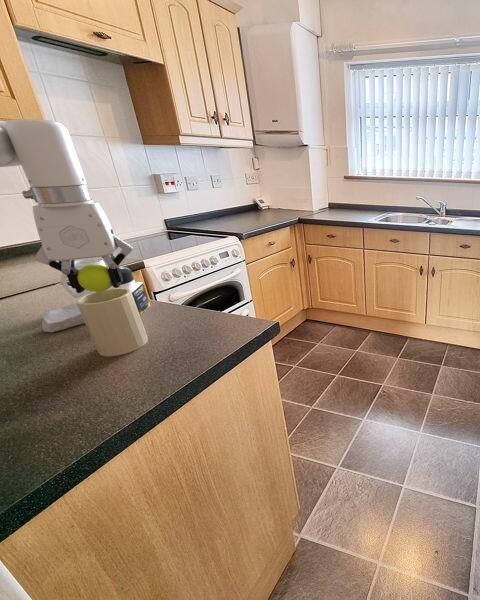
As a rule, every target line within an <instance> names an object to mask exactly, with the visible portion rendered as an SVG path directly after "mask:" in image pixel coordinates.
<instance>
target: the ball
mask: <svg viewBox="0 0 480 600" xmlns="http://www.w3.org/2000/svg"><path fill="white" fill-rule="evenodd" d="M108 269H109V267H108V266H107V265H105V266H103V265H100V264H91V265H87V266H85V267H83V268H82V269H81V270H80V271H79V272H78V275H77V279H78V282H79V284H80V285H81V286H82V287H83V288H84V289H86V290H89V291H93V292H101V291H105V290H107V289H109V288H110V287H111V286H112V285H113V284H112V282H111V279H110V276H109V274H108Z"/></svg>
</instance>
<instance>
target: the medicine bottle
mask: <svg viewBox="0 0 480 600" xmlns="http://www.w3.org/2000/svg"><path fill="white" fill-rule="evenodd" d="M119 269H120V272H121V274H122V277H123V282H121V285H120V286H119V288H127V289H130V290H131V293H132V295H133V298H134V301H135V304H136V306H137V309H138V312H139V315H141V316H142V315H143V314H144V313H145V312H146V310H148V308H149V307H150V306H151V302H150V299H149V297H148V294H147V291H146V288H145V285H144V282H143V281H137V282H136V281H135V278H134V276H133V273H132V269H130V268H128V267H120V266H119ZM111 288H114V287H113V285H112V286H111V287H110V288H109V289H111ZM143 312H144V313H143ZM142 313H143V314H142Z"/></svg>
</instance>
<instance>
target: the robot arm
mask: <svg viewBox="0 0 480 600" xmlns="http://www.w3.org/2000/svg"><path fill="white" fill-rule="evenodd" d="M78 157H79V156H78V154H77V151H76V148H75V145H74V143H73V141H72V138H71V135H70V133H69V130H68V129H67V127H66V126H65V125H64V124H63V123H61V122H58V121H55V120H51V119H50V120H49V119H39V118H38V119H36V118H17V119H16V118H15V119H11V120H10V119H9V120H2V119H0V168H7V167H17V166H21V168H22V170H23V173H24V174H25V177H26V179H27V182H28V185H29V187H28V188H29V189H28V190H22V192H21V193H22V196H23V198H24V199H25V200H30V199H31V200H34V202H35V203H36V205H33V206H32V215H33V219H34V223H35V227H36V230H37V234H38V237H39V240H40V243H41V246H40V248H39V249H38V251H37V253H36V255H35V256H34V260H35V261H36V262H38V263H42V264H44V265H47V266H49V267H51V268H52V269H55V270H57V271H59V272H61V273H63V274H66V275H67V280H68V282H69V283H70V284H69V285H70V288H71V289H75V291H76V292H77V293H82V292H83V291H84V290H85V289H84V288H83V287H82V286H81V285H80V284H79V282H78V279H77V275H78V272H79V270H76V268H75V262H76V260H84V259H91V258H102V259H103V261H104V263H105V264H106V265H108V266H107V268H109V269H108V274H109V276H110V279H111V282H112V284H113V287H114V288H119V286H120V285H121V282H123V277H122V274H121V272H120V269H119V268H120V266H119V265H120V264H121V263H122V262H123V260H125V259H126V257H127V256H128V255H130V253H131V252H132V251H134V247H133V245H131V244H129V243H128V242H126V241H125V240H123V239H122V238H120V237H119V236H117V235H116V233H115V231H114V228H113V226H112V225H111V223H110V221H109V218H108V217H107V214H106V213H105V211H104V209H103V208H102V206H101V204H100V202H99V201H97V200H95V201H94V199H93V196H92V193H91V190H90V187H89V185H88V182H87V179H86V177H85V174H84V171H83V169H82V165H81V163H80V160H79V158H78ZM119 248H120V249H121V251H120V252H118V254H117V255H115V254H114V253H115V251H116V250H118V249H119Z"/></svg>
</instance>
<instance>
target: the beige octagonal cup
mask: <svg viewBox="0 0 480 600" xmlns="http://www.w3.org/2000/svg"><path fill="white" fill-rule="evenodd" d="M75 303H77V306H78V308H79V310H80V313H81V315H82V317H83V319H84V322H85V323H84V324H85V326H86V328H87V331H88V333H89V336H90V337H91V340H92V342H93V344H94V346H95V349H96V351H97V353H98V355H100V356H102V357H116V356H122V355H125V354H128V353H131V352H134V351H137V350H138V349H140V348H142V347H143V346H145V345H146V344H147V343H148V342H149V337H148V335H147V331H146V329H145V326H144V322H143V321H142V318H141V316H140V315H139V312H138V309H137V306H136V304H135V301H134V298H133V295H132V293H131V290H130V289H127V288H111V289H107V290H105V291H101V292H92V293H89V294H87V295H84V296H82V297H77V299H76V300H75Z"/></svg>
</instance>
